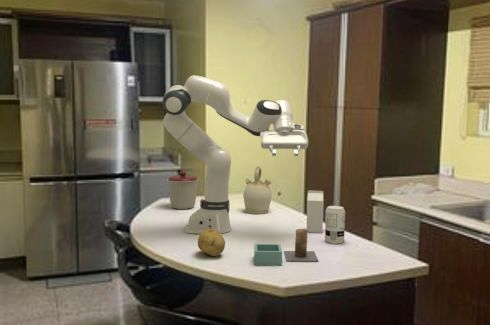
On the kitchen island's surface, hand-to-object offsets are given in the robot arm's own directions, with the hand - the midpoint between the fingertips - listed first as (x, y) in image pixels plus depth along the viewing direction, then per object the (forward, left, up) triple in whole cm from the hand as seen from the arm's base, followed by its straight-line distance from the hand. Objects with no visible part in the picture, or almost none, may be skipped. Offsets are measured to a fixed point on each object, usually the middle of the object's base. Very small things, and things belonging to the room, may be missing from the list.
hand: (285, 155), depth 204 cm
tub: (-8, -26, -37) cm, 46 cm away
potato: (-30, -19, -38) cm, 52 cm away
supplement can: (+22, +1, -38) cm, 44 cm away
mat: (+5, -21, -37) cm, 43 cm away
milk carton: (+16, +19, -38) cm, 45 cm away
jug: (-10, +59, -38) cm, 70 cm away
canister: (-52, +68, -38) cm, 93 cm away
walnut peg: (+5, -21, -37) cm, 43 cm away
